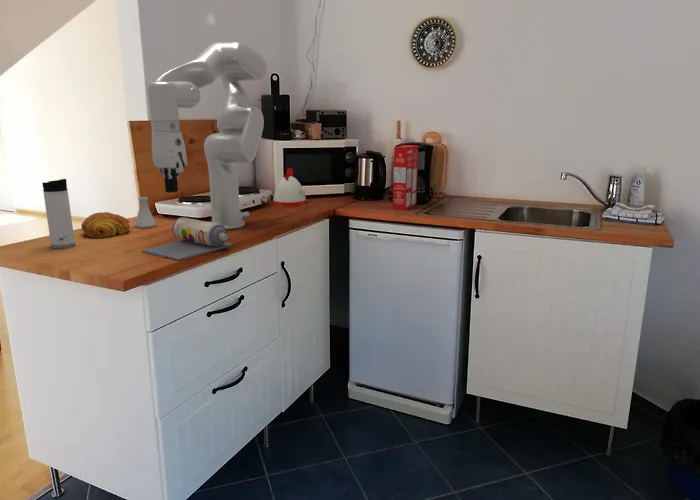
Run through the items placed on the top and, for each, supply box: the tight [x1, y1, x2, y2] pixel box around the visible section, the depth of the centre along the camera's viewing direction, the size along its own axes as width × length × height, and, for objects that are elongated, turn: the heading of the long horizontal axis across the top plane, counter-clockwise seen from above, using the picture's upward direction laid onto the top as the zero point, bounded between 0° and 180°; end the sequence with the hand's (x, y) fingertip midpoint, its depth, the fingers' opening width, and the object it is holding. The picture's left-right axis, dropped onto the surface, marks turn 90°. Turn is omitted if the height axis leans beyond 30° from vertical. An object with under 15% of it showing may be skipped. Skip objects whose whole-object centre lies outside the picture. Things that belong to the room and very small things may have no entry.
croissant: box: [81, 211, 130, 239], centre depth 175 cm, size 14×16×8 cm
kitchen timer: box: [272, 167, 307, 207], centre depth 229 cm, size 14×14×15 cm
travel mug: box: [41, 178, 76, 250], centre depth 156 cm, size 6×7×20 cm
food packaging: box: [392, 144, 419, 211], centre depth 221 cm, size 15×5×25 cm, turn 155°
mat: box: [141, 239, 234, 261], centre depth 156 cm, size 20×16×1 cm
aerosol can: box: [171, 216, 229, 247], centre depth 159 cm, size 7×7×20 cm
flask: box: [134, 196, 158, 229], centre depth 185 cm, size 7×7×10 cm
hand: (172, 191), depth 156 cm, fingers closed
